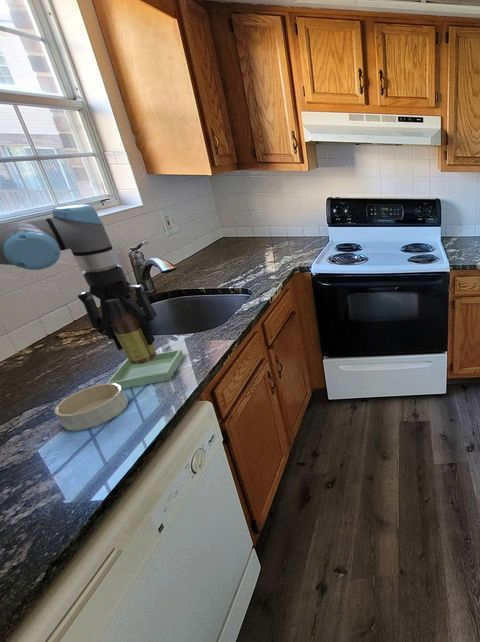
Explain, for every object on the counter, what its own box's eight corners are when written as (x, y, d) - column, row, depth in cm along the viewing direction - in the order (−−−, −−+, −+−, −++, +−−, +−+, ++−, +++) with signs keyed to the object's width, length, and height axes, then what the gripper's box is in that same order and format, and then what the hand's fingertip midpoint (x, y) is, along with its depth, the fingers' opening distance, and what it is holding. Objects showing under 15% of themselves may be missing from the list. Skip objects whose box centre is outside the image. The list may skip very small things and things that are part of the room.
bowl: (51, 436, 84) (41, 421, 82) (80, 403, 95) (72, 389, 93) (115, 422, 88) (107, 408, 86) (136, 392, 98) (129, 378, 96)
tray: (109, 391, 99) (105, 384, 98) (129, 365, 110) (126, 358, 109) (170, 379, 103) (167, 372, 102) (183, 355, 114) (181, 349, 113)
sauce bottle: (145, 352, 108) (118, 291, 100) (162, 354, 107) (136, 292, 99) (123, 365, 102) (92, 301, 94) (141, 367, 101) (112, 302, 93)
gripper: (151, 258, 99) (180, 332, 109) (62, 268, 93) (102, 345, 103) (140, 267, 92) (172, 344, 102) (44, 278, 87) (88, 359, 97)
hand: (137, 344), depth 103 cm, fingers closed on sauce bottle, 6 cm apart
